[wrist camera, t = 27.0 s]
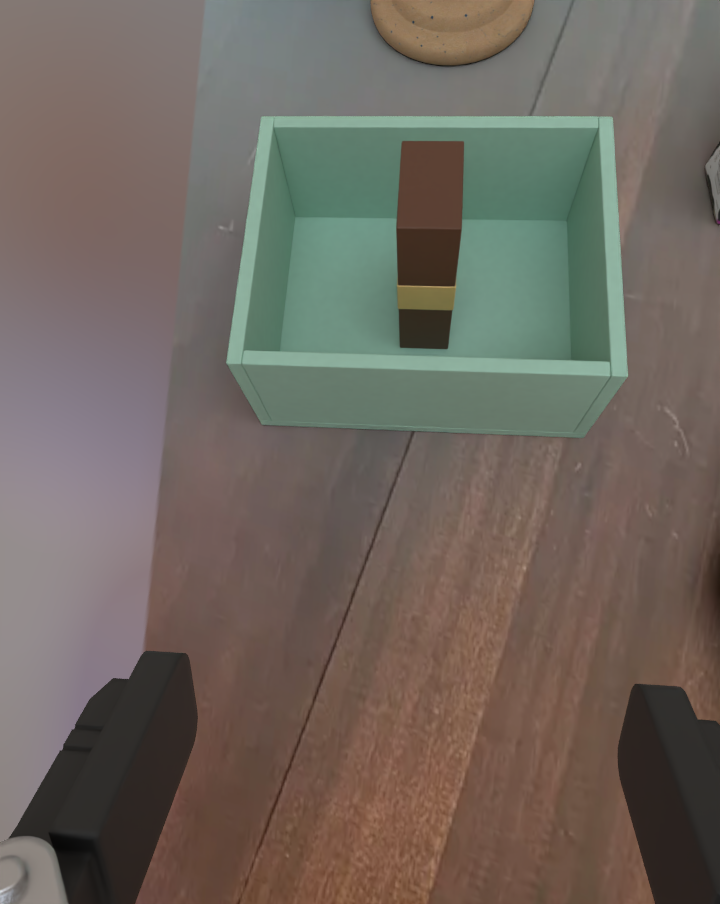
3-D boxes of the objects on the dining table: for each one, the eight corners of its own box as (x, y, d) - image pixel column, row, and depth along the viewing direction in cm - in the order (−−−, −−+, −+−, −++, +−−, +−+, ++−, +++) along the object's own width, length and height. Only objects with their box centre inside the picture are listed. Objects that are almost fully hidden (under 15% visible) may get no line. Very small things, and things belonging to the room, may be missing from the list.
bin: (261, 425, 42) (225, 363, 34) (287, 214, 47) (260, 115, 39) (583, 438, 41) (628, 376, 32) (576, 218, 46) (613, 115, 37)
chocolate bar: (398, 349, 43) (394, 228, 31) (402, 277, 44) (400, 139, 33) (448, 350, 42) (463, 229, 31) (451, 279, 44) (465, 139, 33)
